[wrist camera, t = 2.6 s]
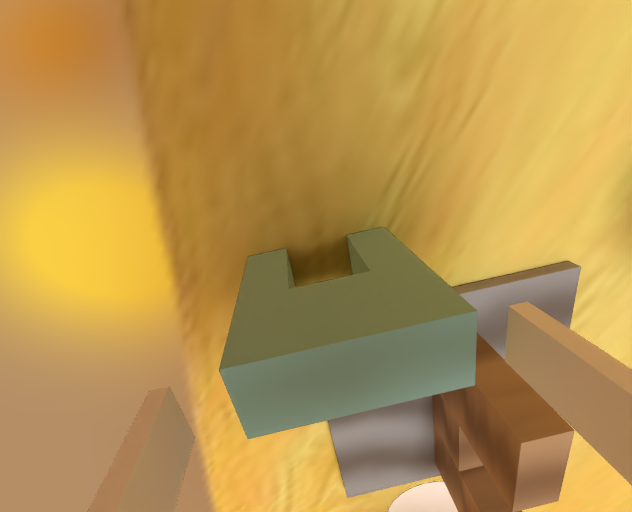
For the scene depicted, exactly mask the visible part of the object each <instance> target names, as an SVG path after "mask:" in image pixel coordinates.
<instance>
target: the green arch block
mask: <svg viewBox="0 0 632 512" xmlns="http://www.w3.org/2000/svg"><path fill="white" fill-rule="evenodd" d="M347 240H348V247H349V253H350V260H351V266H352V272H353V275H349V276H345V277H340V278H336V279H331V280H327V281H322V282H318V283H313V284H309V285H305V286H300V287H296V286H295V282H294V278H293V273H292V269H291V265H290V261H289V257H288V253H287V249H286V248H284V249H280V250H275V251H270V252H266V253H261V254H257V255H252V256H248V259H247V263H246V266H245V270H244V274H243V278H242V282H241V286H240V290H239V294H238V298H237V301H236V305H235V309H234V313H233V317H232V321H231V325H230V329H229V333H228V336H227V340H226V344H225V348H224V352H223V356H222V360H221V364H220V368H219V372H220V374H221V376H222V379H223V381H224V384H225V386H226V388H227V391H228V393H229V396H230V398H231V400H232V403H233V405H234V408H235V410H236V412H237V415H238V417H239V419H240V422H241V424H242V427H243V429H244V431H245V434H246V436H247V439H250V438H255V437H259V436H263V435H267V434H272V433H276V432H280V431H284V430H288V429H293V428H297V427H301V426H305V425H310V424H314V423H318V422H322V421H326V420H331V419H335V418H339V417H343V416H347V415H352V414H356V413H360V412H364V411H369V410H373V409H377V408H381V407H385V406H390V405H394V404H398V403H402V402H406V401H411V400H415V399H419V398H423V397H428V396H432V395H436V394H440V393H444V392H449V391H453V390H457V389H461V388H466V387H470V386H474V385H475V372H476V342H477V310H476V309H475V308H474V307H473V306H472V305H471V304H469V303H468V302H467V301H466V300H465V299H464V298H463V297H462V296H461V295H459V294H458V293H457V292H456V291H455V290H454V289H453V288H452V287H451V286H449V285H448V284H447V283H446V282H445V281H444V280H443V279H442V278H441V277H439V276H438V275H437V274H436V273H435V272H434V271H433V270H432V269H430V268H429V267H428V266H427V265H426V264H425V263H424V262H423V261H422V260H420V259H419V258H418V257H417V256H416V255H415V254H414V253H413V252H412V251H410V250H409V249H408V248H407V247H406V246H405V245H404V244H403V243H402V242H400V241H399V240H398V239H397V238H396V237H395V236H394V235H393V234H392V233H390V232H389V231H388V230H387V229H386V228H385V227H380V228H376V229H371V230H367V231H362V232H357V233H353V234H348V235H347Z"/></svg>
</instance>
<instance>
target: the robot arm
mask: <svg viewBox="0 0 632 512" xmlns="http://www.w3.org/2000/svg"><path fill="white" fill-rule="evenodd" d="M505 362H506V363H507V364H508V365H509V366H510V367H511V368H512V369H513V370H514V371H515V372H516V373H517V374H519V375H520V376H521V377H522V378H523V379H524V380H525V381H526V382H527V383H528V384H529V385H530V386H531V387H532V388H533V389H534V390H535V391H536V392H537V393H538V394H539V395H540V396H541V397H542V398H543V399H544V400H545V401H546V402H547V403H548V404H549V405H550V406H551V407H552V408H553V409H554V410H555V411H556V412H557V413H558V414H559V415H560V416H561V417H562V418H563V419H564V420H565V421H566V422H567V423H569V424H570V425H571V426H572V427H573V428H574V429H575V430H576V431H577V432H578V433H579V434H580V435H581V436H582V437H583V438H584V439H585V440H586V441H587V442H588V443H589V444H590V445H591V446H592V447H593V448H594V449H595V450H596V451H597V452H598V453H599V454H600V455H601V456H602V457H603V458H604V459H605V460H606V461H607V462H608V463H609V464H610V465H611V466H612V467H613V468H614V469H615V470H616V471H618V472H619V473H620V474H621V475H622V476H623V477H624V478H625V479H626V480H627V481H628V482H629V483H630V484H631V485H632V369H631V368H629V367H627V366H626V365H624V364H623V363H621V362H620V361H618V360H617V359H615V358H614V357H612V356H611V355H609V354H607V353H606V352H604V351H603V350H601V349H600V348H598V347H597V346H595V345H594V344H592V343H591V342H589V341H588V340H586V339H584V338H583V337H581V336H580V335H578V334H577V333H575V332H574V331H572V330H571V329H569V328H568V327H566V326H565V325H563V324H561V323H560V322H558V321H557V320H555V319H554V318H552V317H551V316H549V315H548V314H546V313H545V312H543V311H542V310H540V309H538V308H537V307H535V306H534V305H532V304H531V303H529V302H528V301H527V302H523V303H519V304H515V305H510V306H509V310H508V324H507V339H506V353H505ZM194 439H195V436H194V434H193V432H192V430H191V428H190V426H189V424H188V422H187V420H186V418H185V416H184V414H183V412H182V410H181V408H180V406H179V404H178V402H177V400H176V398H175V396H174V394H173V392H172V390H171V388H170V387H164V388H160V389H156V390H152V391H149V392H148V394H147V396H146V397H145V399H144V402H143V403H142V405H141V407H140V409H139V411H138V413H137V415H136V417H135V419H134V421H133V423H132V425H131V427H130V429H129V431H128V433H127V435H126V437H125V439H124V441H123V443H122V444H121V446H120V449H119V450H118V452H117V454H116V456H115V458H114V460H113V462H112V464H111V466H110V468H109V470H108V472H107V474H106V476H105V478H104V480H103V482H102V484H101V486H100V488H99V489H98V492H97V494H96V495H95V497H94V499H93V501H92V503H91V505H90V507H89V509H88V511H87V512H174V511H175V508H176V504H177V501H178V497H179V493H180V489H181V486H182V483H183V479H184V475H185V472H186V468H187V464H188V461H189V457H190V454H191V450H192V446H193V443H194Z"/></svg>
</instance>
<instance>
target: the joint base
mask: <svg viewBox="0 0 632 512" xmlns="http://www.w3.org/2000/svg"><path fill="white" fill-rule="evenodd" d="M580 269H581V266H578V265H576V264H574V263H572V262H569V261H567V262H562V263H558V264H553V265H549V266H544V267H540V268H536V269H531V270H527V271H522V272H518V273H514V274H509V275H505V276H500V277H496V278H491V279H487V280H483V281H478V282H474V283H469V284H465V285H461V286H456V287H452V288H453V289H454V290H455V291H456V292H457V293H458V294H459V295H461V296H462V297H463V298H464V299H465V300H466V301H467V302H468V303H469V304H471V305H472V306H473V307H474V308H475V309H476V310H477V342H476V372H475V385H474V386H470V387H466V388H461V389H457V390H453V391H449V392H444V393H440V394H436V395H432V396H428V397H423V398H419V399H415V400H411V401H406V402H402V403H398V404H394V405H390V406H385V407H381V408H377V409H373V410H369V411H364V412H360V413H356V414H352V415H347V416H343V417H339V418H335V419H331V420H328V422H329V426H330V430H331V434H332V438H333V443H334V447H335V451H336V455H337V459H338V463H339V467H340V471H341V475H342V479H343V483H344V487H345V491H346V495H347V498H349V497H354V496H358V495H362V494H366V493H370V492H374V491H378V490H382V489H386V488H390V487H394V486H398V485H402V484H406V483H411V482H415V481H419V480H423V479H427V478H431V477H435V476H439V475H441V476H442V479H443V481H444V483H445V485H446V487H447V489H448V491H449V493H450V496H451V498H452V500H453V502H454V504H455V506H456V508H457V510H458V512H522V511H521V510H525V509H529V508H533V507H536V506H540V505H544V504H548V503H552V502H556V501H558V500H559V495H560V491H561V487H562V482H563V478H564V474H565V469H566V465H567V461H568V456H569V452H570V448H571V443H572V439H573V435H574V429H573V428H572V427H571V426H570V425H569V424H568V423H567V422H566V421H565V420H564V419H563V418H562V417H561V416H560V415H559V414H558V413H557V412H556V411H555V410H554V409H553V408H552V407H551V406H550V405H549V404H548V403H547V402H546V401H545V400H544V399H543V398H542V397H541V396H540V395H539V394H538V393H537V392H536V391H535V390H534V389H533V388H532V387H531V386H530V385H529V384H528V383H527V382H526V381H525V380H524V379H523V378H522V377H521V376H520V375H519V374H517V373H516V372H515V371H514V370H513V369H512V368H511V367H510V366H509V365H508V364H507V363H506V362H505V353H506V339H507V324H508V310H509V306H510V305H515V304H519V303H523V302H527V301H528V302H529V303H531V304H532V305H534V306H535V307H537V308H538V309H540V310H542V311H543V312H545V313H546V314H548V315H549V316H551V317H552V318H554V319H555V320H557V321H558V322H560V323H561V324H563V325H565V326H566V327H568V328H569V329H570V324H571V318H572V313H573V307H574V302H575V296H576V291H577V286H578V280H579V275H580Z"/></svg>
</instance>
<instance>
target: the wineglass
mask: <svg viewBox="0 0 632 512" xmlns="http://www.w3.org/2000/svg"><path fill="white" fill-rule="evenodd" d="M388 512H458V510H457V508H456V506H455V504H454V502H453V500H452V498H451V496H450V493H449V491H448V489H447V487H446V485H445V483H444V482H431V483H425V484H422V485H419V486H416V487H413V488H411V489H409V490H408V491H406V492H404V493H402V494H401V495H400V496H399V497H398V498H397V499H395V500H394V501H393V503H392V504H391V506H390V508H389V510H388Z"/></svg>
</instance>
